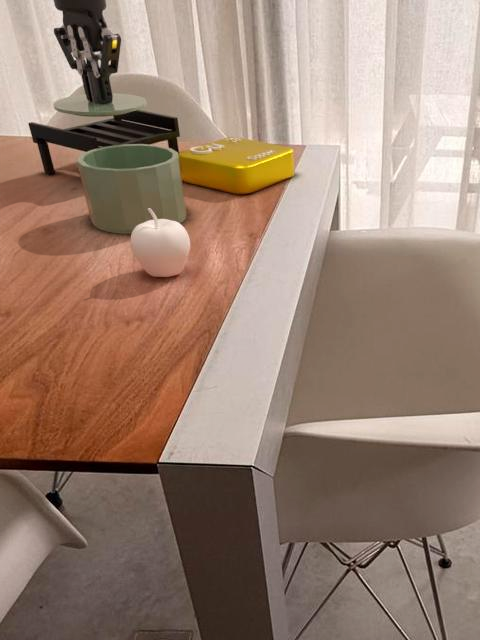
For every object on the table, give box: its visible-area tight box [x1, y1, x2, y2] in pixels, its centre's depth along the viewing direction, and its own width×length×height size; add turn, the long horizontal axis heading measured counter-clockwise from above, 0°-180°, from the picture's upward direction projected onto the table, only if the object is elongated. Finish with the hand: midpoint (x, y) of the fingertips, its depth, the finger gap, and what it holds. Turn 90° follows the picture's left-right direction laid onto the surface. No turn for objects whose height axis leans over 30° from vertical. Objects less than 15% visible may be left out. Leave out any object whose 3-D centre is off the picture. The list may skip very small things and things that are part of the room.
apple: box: [129, 208, 191, 278], centre depth 84 cm, size 7×7×8 cm
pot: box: [76, 144, 188, 235], centre depth 99 cm, size 14×14×8 cm
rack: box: [27, 109, 181, 176], centre depth 117 cm, size 18×16×8 cm
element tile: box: [178, 136, 295, 195], centre depth 116 cm, size 15×15×5 cm
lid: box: [52, 70, 148, 118], centre depth 112 cm, size 15×15×6 cm
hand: (100, 101), depth 113 cm, fingers closed on lid, 2 cm apart
